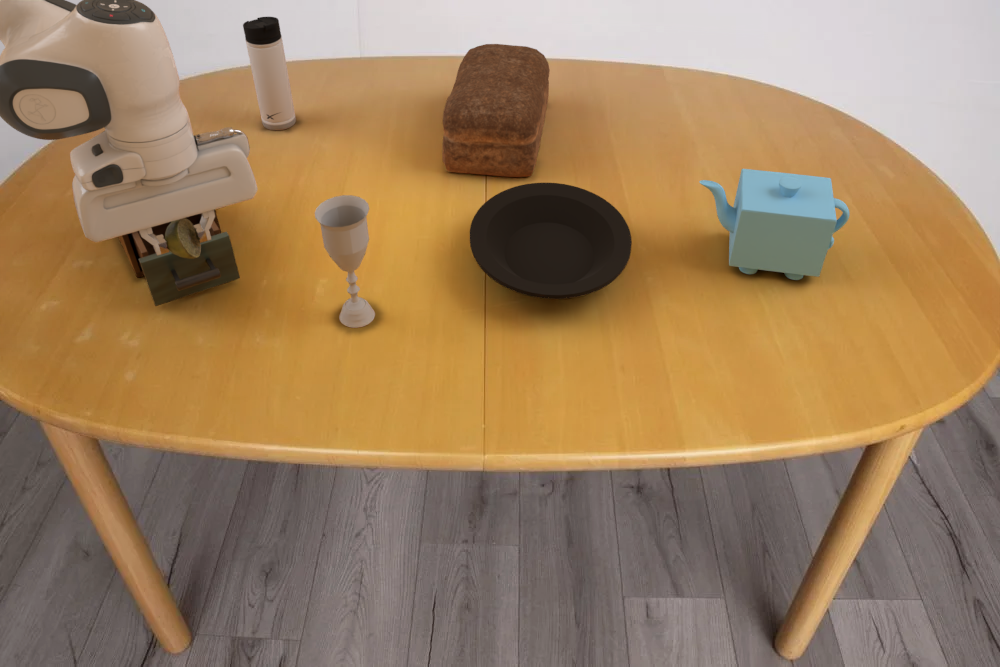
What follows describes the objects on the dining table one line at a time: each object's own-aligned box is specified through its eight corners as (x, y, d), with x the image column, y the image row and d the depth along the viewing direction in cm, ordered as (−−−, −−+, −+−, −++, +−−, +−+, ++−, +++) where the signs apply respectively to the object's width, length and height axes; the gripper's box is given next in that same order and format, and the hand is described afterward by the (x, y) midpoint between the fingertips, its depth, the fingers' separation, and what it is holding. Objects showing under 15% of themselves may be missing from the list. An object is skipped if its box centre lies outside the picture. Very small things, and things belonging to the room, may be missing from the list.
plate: (642, 322, 124) (646, 292, 120) (473, 328, 123) (472, 297, 119) (612, 209, 144) (615, 180, 140) (467, 213, 143) (467, 184, 139)
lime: (197, 239, 111) (188, 206, 108) (213, 258, 108) (205, 224, 105) (163, 251, 109) (153, 218, 106) (178, 270, 106) (169, 237, 103)
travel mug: (275, 135, 162) (254, 30, 148) (256, 122, 165) (234, 18, 152) (303, 123, 165) (286, 20, 151) (284, 111, 168) (266, 8, 155)
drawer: (249, 294, 127) (238, 251, 121) (163, 323, 122) (148, 279, 117) (212, 232, 138) (201, 190, 132) (132, 256, 133) (117, 214, 128)
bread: (551, 99, 172) (554, 34, 163) (535, 184, 150) (537, 114, 141) (465, 93, 174) (464, 29, 165) (437, 176, 151) (433, 107, 142)
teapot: (830, 244, 137) (854, 168, 128) (835, 288, 129) (861, 211, 120) (688, 227, 141) (702, 152, 131) (685, 269, 132) (699, 192, 123)
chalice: (361, 338, 121) (346, 233, 109) (322, 322, 123) (303, 217, 111) (391, 308, 126) (380, 204, 113) (352, 293, 128) (337, 189, 116)
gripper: (236, 112, 104) (256, 209, 113) (54, 155, 96) (92, 256, 105) (253, 135, 100) (273, 234, 109) (65, 183, 92) (103, 284, 101)
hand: (183, 245), depth 107 cm, fingers closed on lime, 4 cm apart
